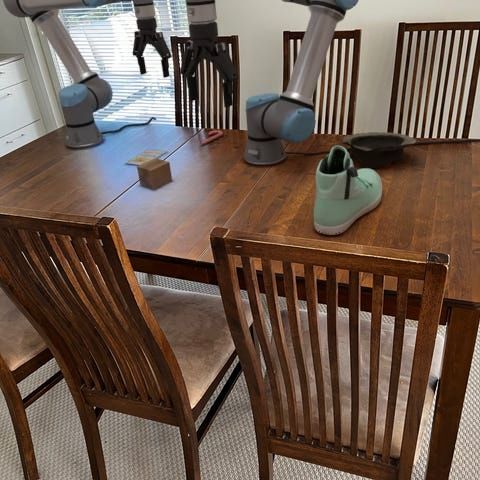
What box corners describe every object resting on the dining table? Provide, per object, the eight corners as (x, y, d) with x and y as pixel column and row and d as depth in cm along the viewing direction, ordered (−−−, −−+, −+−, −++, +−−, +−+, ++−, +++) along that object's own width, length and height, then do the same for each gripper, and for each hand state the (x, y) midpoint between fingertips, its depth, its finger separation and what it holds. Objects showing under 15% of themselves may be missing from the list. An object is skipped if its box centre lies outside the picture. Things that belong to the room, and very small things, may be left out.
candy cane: (192, 143, 195) (191, 140, 194) (214, 132, 205) (214, 128, 204) (203, 146, 192) (203, 142, 191) (225, 134, 202) (225, 130, 201)
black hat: (374, 178, 154) (374, 150, 149) (327, 160, 174) (326, 135, 170) (431, 159, 163) (433, 133, 158) (380, 144, 183) (380, 120, 179)
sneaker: (389, 187, 148) (396, 123, 138) (356, 242, 123) (361, 168, 112) (346, 181, 154) (350, 119, 144) (306, 232, 129) (307, 161, 118)
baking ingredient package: (124, 162, 180) (148, 148, 192) (124, 163, 181) (148, 150, 192) (143, 164, 177) (166, 151, 188) (143, 166, 177) (166, 152, 189)
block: (140, 185, 163) (136, 166, 159) (158, 177, 168) (155, 158, 165) (154, 190, 159) (150, 170, 155) (172, 181, 164) (169, 161, 161)
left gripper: (117, 18, 186) (127, 74, 197) (161, 20, 172) (169, 80, 183) (132, 15, 191) (141, 70, 202) (176, 17, 177) (183, 76, 188)
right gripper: (160, 22, 131) (172, 100, 142) (228, 26, 116) (235, 112, 127) (180, 18, 135) (190, 94, 146) (248, 21, 121) (252, 105, 132)
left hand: (154, 75), depth 193 cm, fingers open, 13 cm apart
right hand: (211, 103), depth 137 cm, fingers open, 13 cm apart
